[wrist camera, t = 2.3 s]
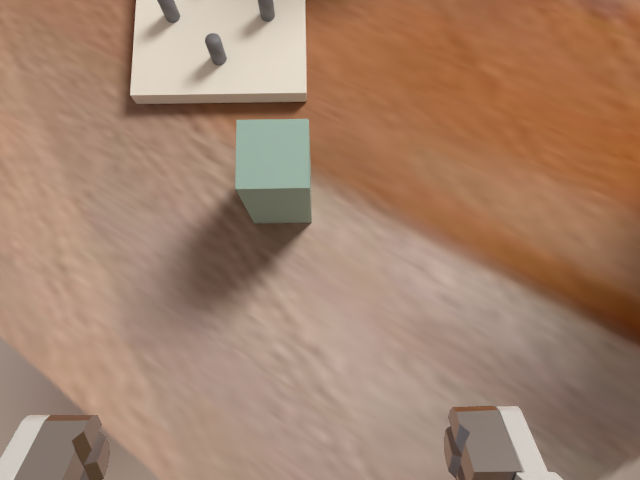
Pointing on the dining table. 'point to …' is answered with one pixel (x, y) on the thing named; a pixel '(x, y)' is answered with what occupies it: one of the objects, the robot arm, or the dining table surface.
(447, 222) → the dining table surface
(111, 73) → the dining table surface
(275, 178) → the block
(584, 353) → the dining table surface
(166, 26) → the peg board
